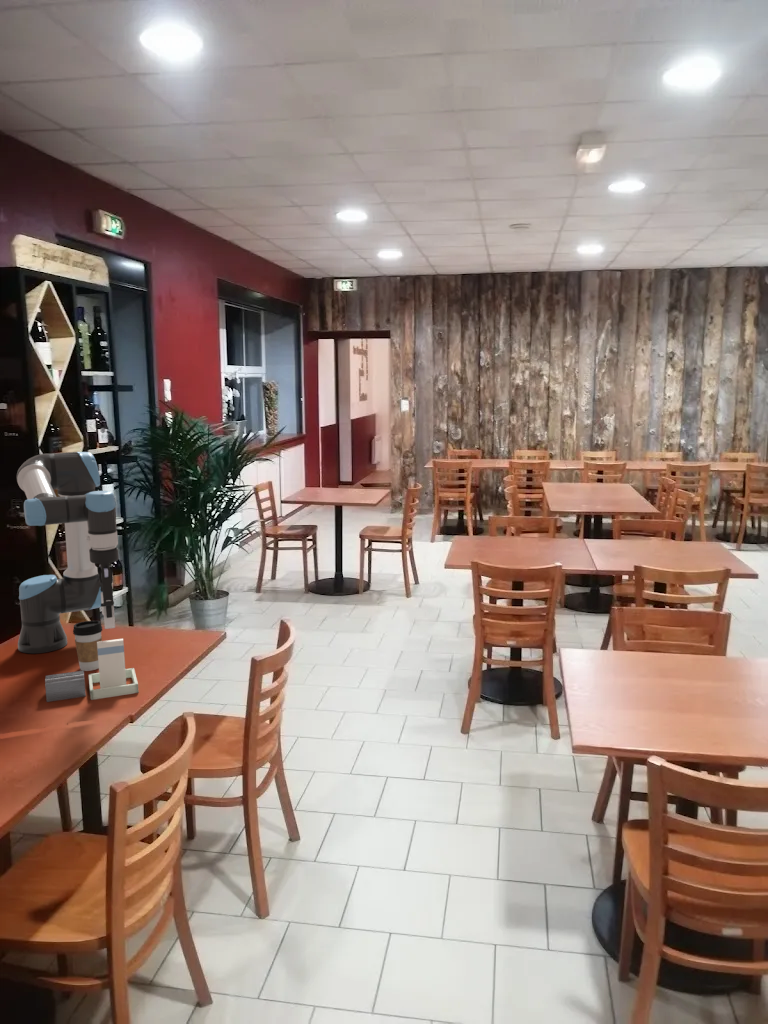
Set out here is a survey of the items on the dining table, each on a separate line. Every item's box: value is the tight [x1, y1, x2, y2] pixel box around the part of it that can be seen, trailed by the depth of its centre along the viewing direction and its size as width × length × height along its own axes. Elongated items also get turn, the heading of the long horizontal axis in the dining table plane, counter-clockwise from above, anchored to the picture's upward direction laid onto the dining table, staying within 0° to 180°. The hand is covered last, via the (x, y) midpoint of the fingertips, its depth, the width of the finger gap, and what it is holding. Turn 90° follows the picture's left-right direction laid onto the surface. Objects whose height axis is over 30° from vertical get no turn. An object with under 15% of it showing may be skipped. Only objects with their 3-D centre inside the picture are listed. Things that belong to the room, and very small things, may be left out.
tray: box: [88, 667, 140, 701], centre depth 222 cm, size 14×13×4 cm
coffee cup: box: [72, 620, 103, 672], centre depth 238 cm, size 8×8×15 cm
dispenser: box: [44, 670, 87, 703], centre depth 218 cm, size 7×10×7 cm
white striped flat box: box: [97, 638, 127, 689], centre depth 221 cm, size 2×7×14 cm, turn 112°
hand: (108, 620), depth 220 cm, fingers open, 13 cm apart
